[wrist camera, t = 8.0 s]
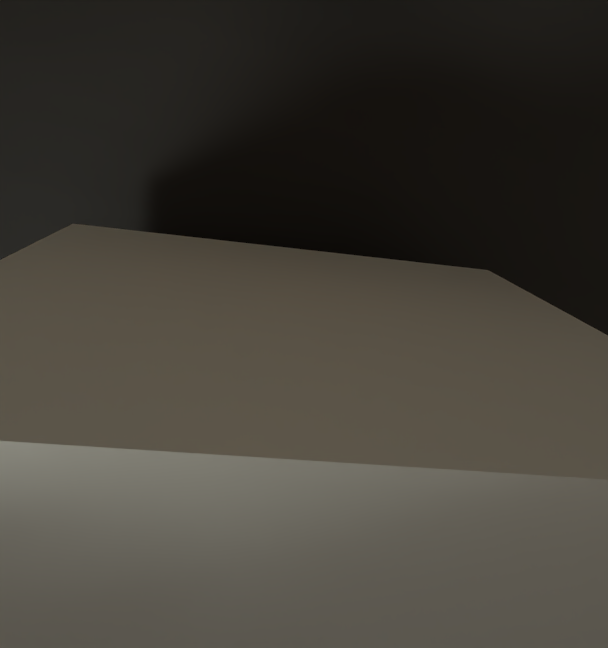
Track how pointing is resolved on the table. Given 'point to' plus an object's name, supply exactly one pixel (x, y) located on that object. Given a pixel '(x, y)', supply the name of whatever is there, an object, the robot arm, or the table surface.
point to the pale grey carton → (293, 451)
